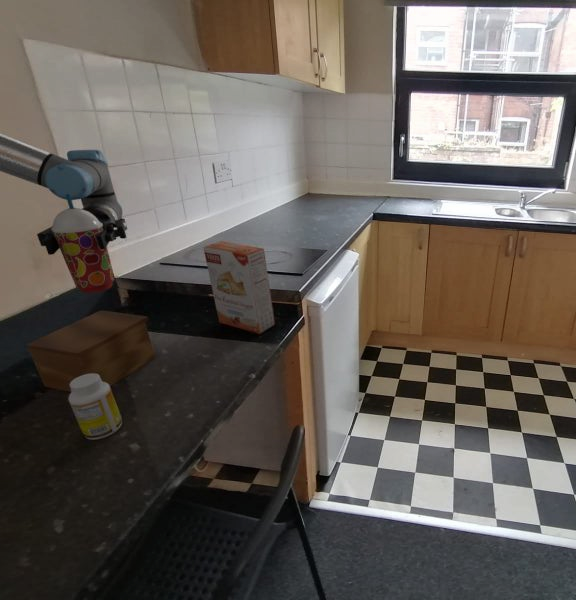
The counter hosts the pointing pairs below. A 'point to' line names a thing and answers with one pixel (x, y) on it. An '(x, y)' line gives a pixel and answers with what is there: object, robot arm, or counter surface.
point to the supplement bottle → (94, 406)
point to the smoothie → (83, 249)
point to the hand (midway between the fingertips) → (75, 245)
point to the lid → (87, 333)
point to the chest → (96, 360)
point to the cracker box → (240, 286)
